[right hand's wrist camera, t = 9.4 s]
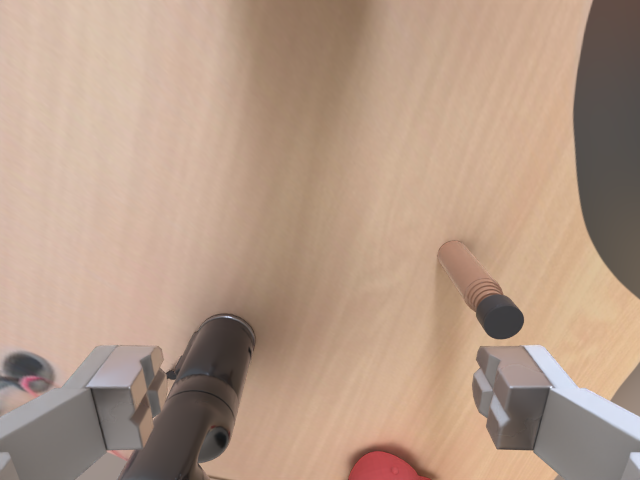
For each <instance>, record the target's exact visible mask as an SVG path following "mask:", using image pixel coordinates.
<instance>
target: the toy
mask: <svg viewBox="0 0 640 480" xmlns="http://www.w3.org/2000/svg"><path fill="white" fill-rule="evenodd" d="M348 480H431V479H429V478H426V477H422V476H418V474H417V473H416V471H415V470H414V469H413V468H412V467H411V466H410V465H409V464H408V463H406V462H405V461H404V460H402V459H400V458H399V457H397V456H395V455H392V454H390V453H386V452H382V451H374V452H370V453H368V454H366V455H364V456H363V457H362V458H360V459H359V460H358V462H357V463H356V464H355V465H354V467H353V469H352V470H351V472H350V475H349V478H348Z"/></svg>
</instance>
